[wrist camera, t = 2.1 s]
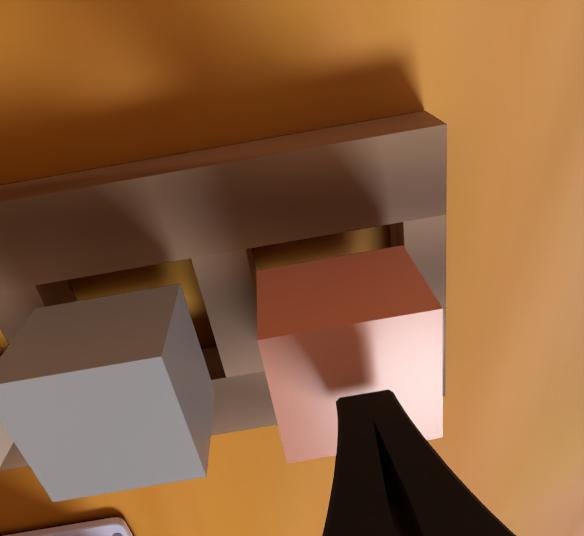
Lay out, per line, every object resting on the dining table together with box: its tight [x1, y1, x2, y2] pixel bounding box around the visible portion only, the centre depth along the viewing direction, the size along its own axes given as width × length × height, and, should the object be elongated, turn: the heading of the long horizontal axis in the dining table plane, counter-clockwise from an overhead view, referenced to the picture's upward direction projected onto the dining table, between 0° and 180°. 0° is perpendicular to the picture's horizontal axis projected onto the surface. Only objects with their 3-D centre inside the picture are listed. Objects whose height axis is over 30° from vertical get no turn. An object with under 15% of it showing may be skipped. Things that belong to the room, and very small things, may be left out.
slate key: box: [0, 284, 215, 502], centre depth 14 cm, size 5×5×4 cm
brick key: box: [256, 245, 443, 463], centre depth 14 cm, size 5×5×4 cm
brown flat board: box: [0, 111, 447, 471], centre depth 18 cm, size 11×22×2 cm, turn 99°
